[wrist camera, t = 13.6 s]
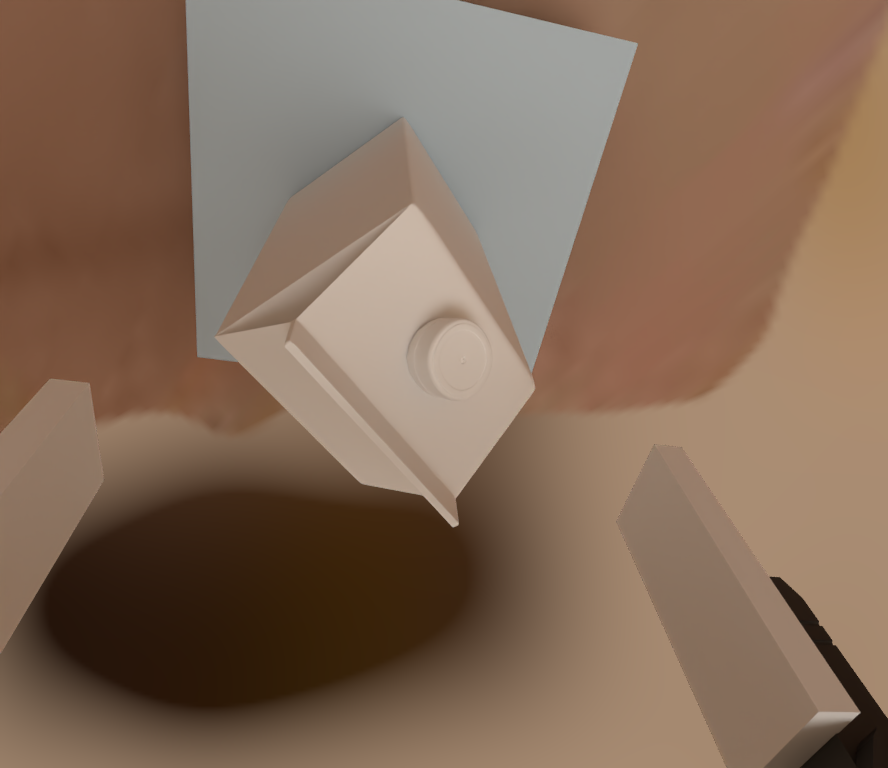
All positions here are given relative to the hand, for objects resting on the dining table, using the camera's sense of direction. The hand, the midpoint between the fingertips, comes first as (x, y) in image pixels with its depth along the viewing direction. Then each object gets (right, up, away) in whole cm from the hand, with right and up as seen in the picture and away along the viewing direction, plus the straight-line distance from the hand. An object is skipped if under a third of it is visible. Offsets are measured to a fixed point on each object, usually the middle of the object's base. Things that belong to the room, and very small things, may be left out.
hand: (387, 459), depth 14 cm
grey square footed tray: (-2, +14, +22) cm, 27 cm away
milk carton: (-2, +11, +17) cm, 20 cm away
